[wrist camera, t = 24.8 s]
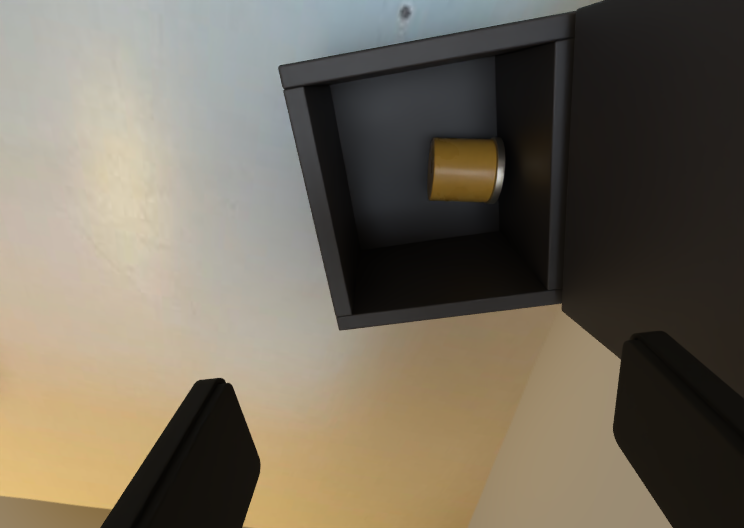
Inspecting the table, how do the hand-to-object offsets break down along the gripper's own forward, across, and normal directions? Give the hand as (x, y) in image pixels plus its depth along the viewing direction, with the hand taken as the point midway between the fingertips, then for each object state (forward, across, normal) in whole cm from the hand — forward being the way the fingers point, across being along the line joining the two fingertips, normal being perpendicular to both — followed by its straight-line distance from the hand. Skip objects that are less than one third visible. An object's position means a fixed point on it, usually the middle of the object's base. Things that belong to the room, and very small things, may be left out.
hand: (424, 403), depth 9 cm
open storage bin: (+17, -2, -3) cm, 18 cm away
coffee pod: (+15, -2, -3) cm, 15 cm away
